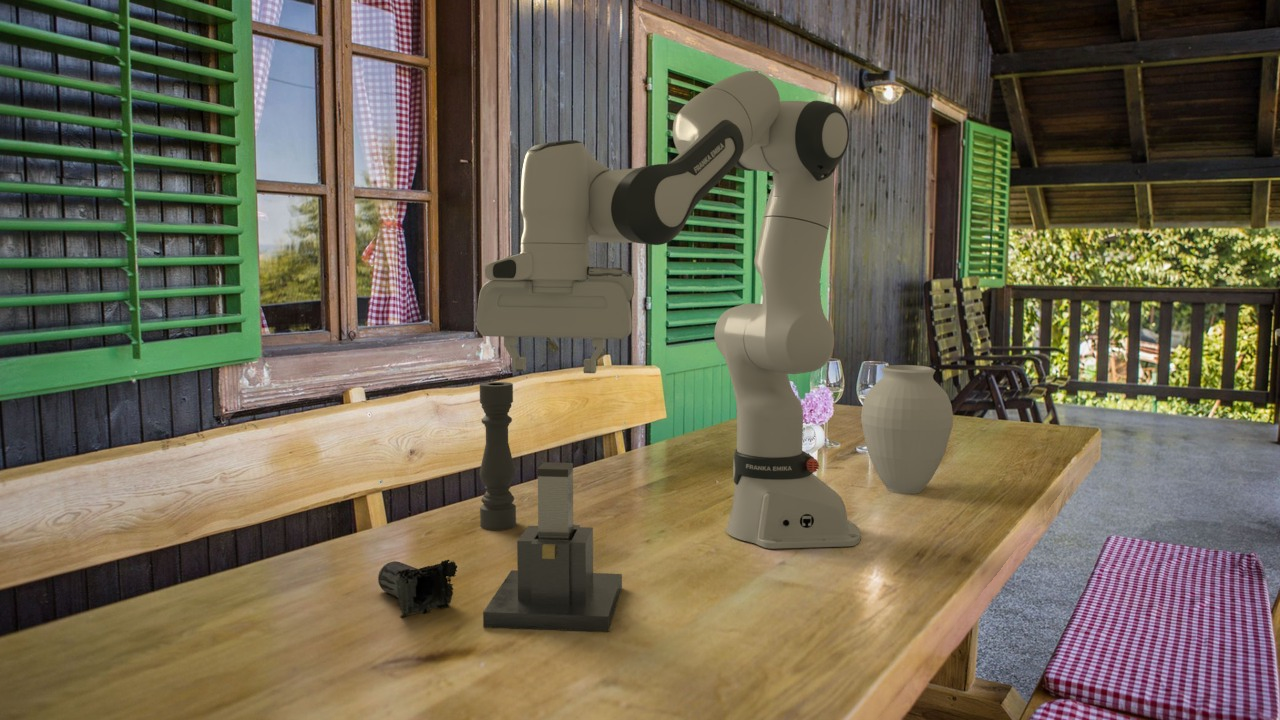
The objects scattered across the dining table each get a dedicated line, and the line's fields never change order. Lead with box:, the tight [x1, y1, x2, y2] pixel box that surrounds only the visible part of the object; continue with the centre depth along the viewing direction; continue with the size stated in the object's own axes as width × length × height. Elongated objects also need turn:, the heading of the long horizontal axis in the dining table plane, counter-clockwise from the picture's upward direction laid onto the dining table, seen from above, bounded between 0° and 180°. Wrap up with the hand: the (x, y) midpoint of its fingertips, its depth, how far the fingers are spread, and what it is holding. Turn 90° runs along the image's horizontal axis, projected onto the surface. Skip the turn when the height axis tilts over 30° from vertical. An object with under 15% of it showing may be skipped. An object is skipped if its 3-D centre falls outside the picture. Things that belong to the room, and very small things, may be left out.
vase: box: [860, 364, 954, 495], centre depth 189 cm, size 18×18×25 cm
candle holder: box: [479, 381, 517, 531], centre depth 163 cm, size 6×6×25 cm
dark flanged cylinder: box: [377, 559, 458, 618], centre depth 128 cm, size 9×8×12 cm
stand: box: [482, 524, 623, 633], centre depth 126 cm, size 16×16×10 cm
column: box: [537, 461, 575, 540], centre depth 125 cm, size 4×4×17 cm
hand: (554, 372), depth 123 cm, fingers open, 8 cm apart
